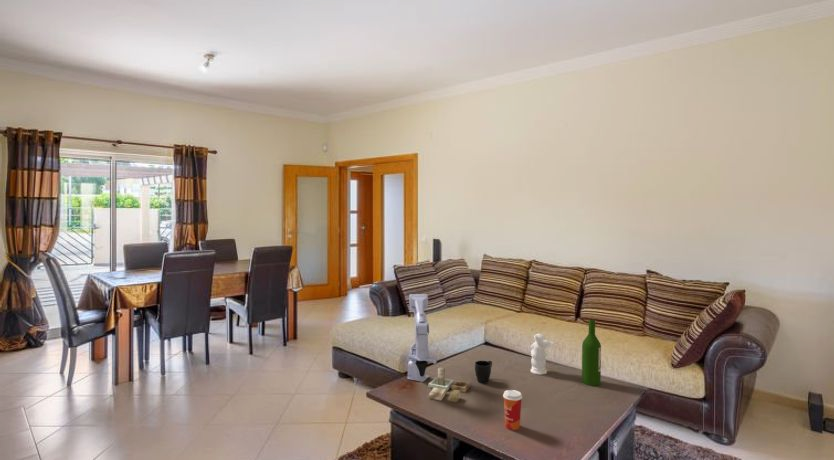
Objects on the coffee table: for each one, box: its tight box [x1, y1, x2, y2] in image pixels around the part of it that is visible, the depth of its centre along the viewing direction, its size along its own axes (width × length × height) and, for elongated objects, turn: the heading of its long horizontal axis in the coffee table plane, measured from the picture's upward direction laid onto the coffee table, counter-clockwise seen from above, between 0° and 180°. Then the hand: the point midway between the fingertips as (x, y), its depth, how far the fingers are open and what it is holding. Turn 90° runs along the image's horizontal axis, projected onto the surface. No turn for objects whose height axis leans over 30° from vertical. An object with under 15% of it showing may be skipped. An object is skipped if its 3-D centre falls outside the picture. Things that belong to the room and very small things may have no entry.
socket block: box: [451, 380, 471, 393], centre depth 213 cm, size 7×7×2 cm
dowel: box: [437, 367, 446, 386], centre depth 216 cm, size 4×4×8 cm
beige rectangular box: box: [428, 388, 447, 401], centre depth 204 cm, size 6×8×2 cm
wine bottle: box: [581, 318, 602, 387], centre depth 218 cm, size 9×9×32 cm
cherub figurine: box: [529, 333, 555, 376], centre depth 232 cm, size 12×12×22 cm
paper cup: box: [502, 389, 523, 431], centre depth 174 cm, size 8×8×14 cm
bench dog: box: [449, 390, 461, 403], centre depth 200 cm, size 3×5×4 cm, turn 155°
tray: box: [427, 376, 455, 392], centre depth 216 cm, size 10×10×2 cm
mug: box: [474, 360, 493, 384], centre depth 222 cm, size 8×12×10 cm
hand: (422, 375), depth 207 cm, fingers closed
